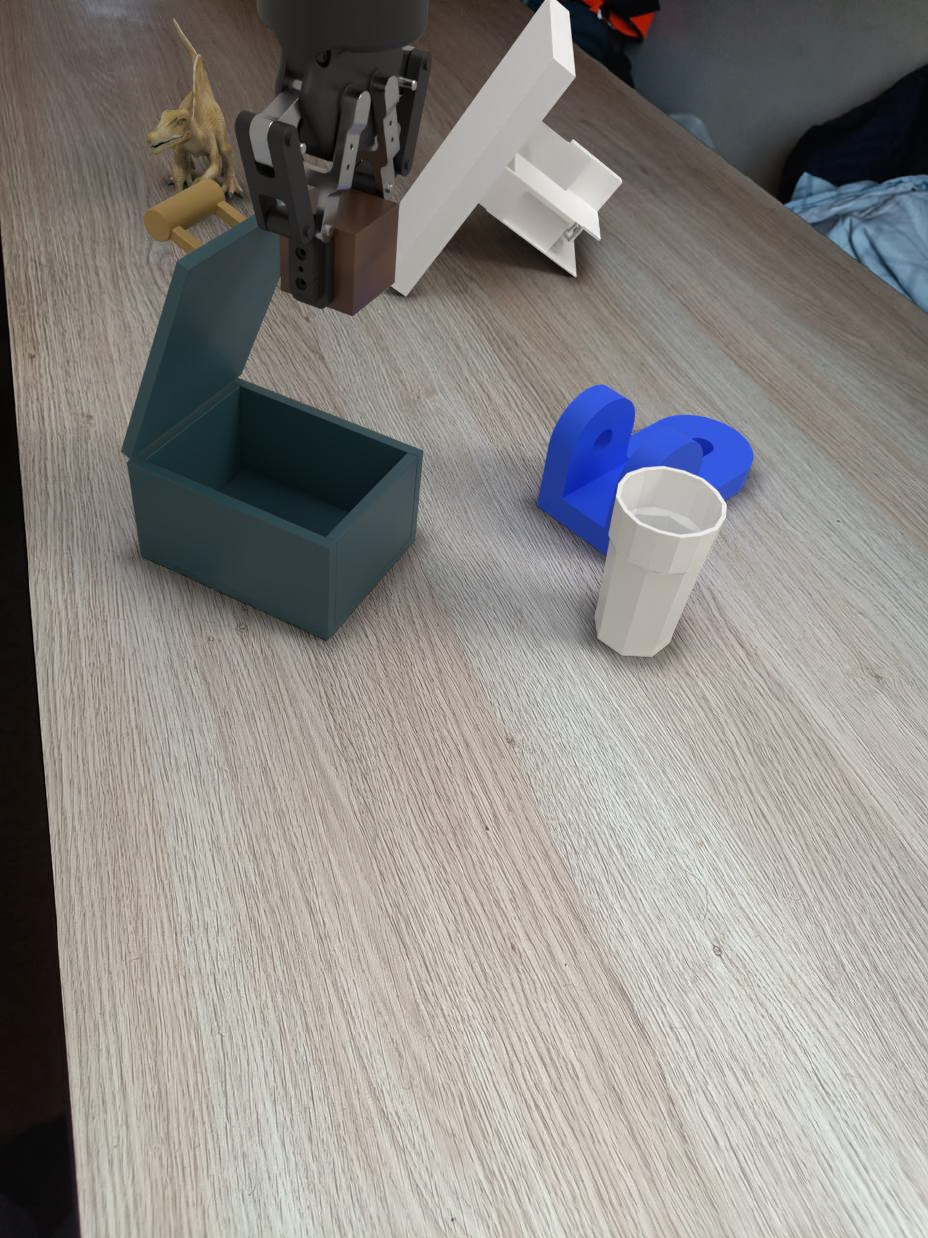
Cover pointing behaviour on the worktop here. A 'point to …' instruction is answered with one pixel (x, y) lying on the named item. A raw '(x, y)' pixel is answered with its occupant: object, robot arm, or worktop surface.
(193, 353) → the lid
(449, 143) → the white tilted panel stand
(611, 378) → the worktop surface
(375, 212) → the block
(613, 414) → the bracket
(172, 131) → the dinosaur figurine
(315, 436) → the box
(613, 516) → the cup
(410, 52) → the robot arm
